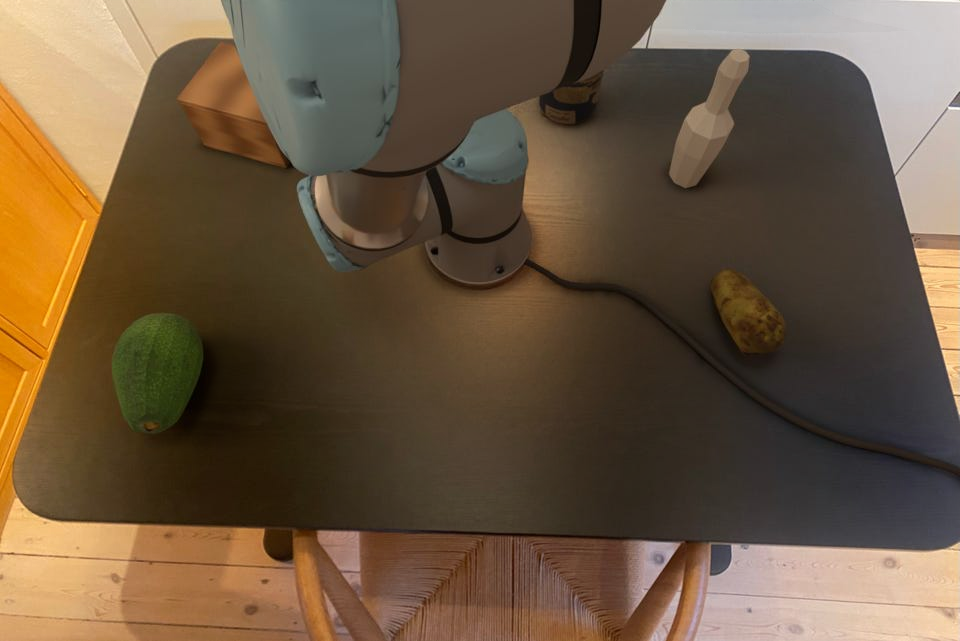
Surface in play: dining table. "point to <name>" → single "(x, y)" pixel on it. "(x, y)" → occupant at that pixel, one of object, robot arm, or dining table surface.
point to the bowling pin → (708, 123)
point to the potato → (747, 313)
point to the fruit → (156, 370)
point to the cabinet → (229, 109)
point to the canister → (572, 101)
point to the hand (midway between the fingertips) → (312, 103)
